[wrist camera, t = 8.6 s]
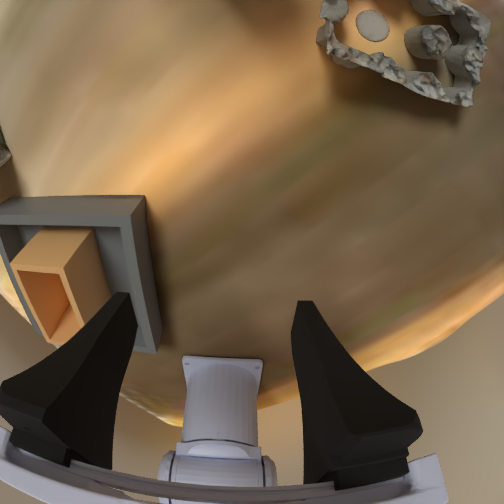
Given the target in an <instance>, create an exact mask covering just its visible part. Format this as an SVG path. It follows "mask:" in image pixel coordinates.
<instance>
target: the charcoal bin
mask: <svg viewBox="0 0 504 504" xmlns="http://www.w3.org/2000/svg"><path fill="white" fill-rule="evenodd" d="M43 227H94V231H95V235H96V240H97V244H98V248H99V252H100V256H101V260H102V264H103V268H104V272H105V275H106V279H107V283H108V286H109V290H110V293H111V296H113V295H114V294H115V293H116V292H128V293H130V296H131V300H132V304H133V308H134V312H135V316H136V319H137V323H138V328H137V334H136V339H135V343H134V347H133V350H132V351H135V352H143V353H152V354H157V351H158V347H159V343H160V339H161V335H162V331H163V326H162V320H161V315H160V309H159V304H158V298H157V292H156V285H155V279H154V272H153V265H152V258H151V251H150V243H149V234H148V226H147V216H146V206H145V195H86V196H48V197H24V198H8V199H7V200H6V201H5V202H3V203H2V204H1V205H0V254H1V256H2V259H3V262H4V264H5V267H6V269H7V272H8V274H9V277H10V279H11V282H12V284H13V286H14V288H15V291H16V293H17V295H18V297H19V300H20V302H21V304H22V306H23V308H24V310H25V312H26V314H27V316H28V318H29V320H30V322H31V324H32V326H33V328H34V329H35V331H36V333H37V334H39V335H43V334H42V332H41V330H40V328H39V326H38V324H37V322H36V320H35V319H34V317H33V315H32V313H31V311H30V309H29V307H28V304H27V302H26V300H25V298H24V296H23V294H22V292H21V289H20V287H19V285H18V283H17V280H16V278H15V276H14V273H13V271H12V268H11V266H10V263H11V261H12V260H13V259H14V258H15V257H16V256H17V255H18V253H19V252H20V251H21V250H22V249H23V248H24V247H25V246H26V244H27V243H28V242H29V241H30V240H31V239H32V238H33V237H34V236H35V235H36V234H37V233H38V232H39V231H40V230H41V229H42V228H43ZM43 336H44V335H43Z"/></svg>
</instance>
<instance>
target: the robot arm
mask: <svg viewBox="0 0 504 504" xmlns="http://www.w3.org/2000/svg"><path fill="white" fill-rule="evenodd" d="M137 328H138V323H137V319H136V316H135V312H134V308H133V304H132V300H131V296H130V293H128V292H116V293H115V294H114V295H113V296H112V297H111V298H110V299H109V300H108V301H107V302H106V303H105V305H104V306H103V307H102V308H101V309H100V310H99V311H98V312H97V313H96V314H95V315H94V316H93V317H92V318H91V319H90V320H89V321H88V322H87V323H86V324H85V325H84V326H83V327H82V328H81V329H80V330H79V331H78V332H77V333H76V334H75V335H74V336H73V337H72V338H71V339H69V340H68V341H67V342H66V343H65V344H63V345H62V346H61V347H60V348H59V349H57V350H56V351H55V352H53V353H52V354H50V355H49V356H48V357H46V358H45V359H44V360H42V361H41V362H39V363H37V364H36V365H34V366H32V367H31V368H29V369H27V370H25V371H23V372H22V373H20V374H17V375H16V376H13V377H11V378H9V379H7V380H4V381H3V382H2V384H1V386H0V415H1V416H2V417H3V418H4V419H5V420H6V421H7V422H8V423H9V424H10V425H12V426H13V430H12V432H10V431H9V430H7V429H6V428H4V427H2V426H0V480H2V481H4V482H5V483H7V484H9V485H11V486H13V487H15V488H17V489H18V490H20V491H22V492H24V493H26V494H28V495H30V496H32V497H35V498H37V499H39V500H41V501H43V502H46V503H48V504H445V503H447V502H448V501H449V498H448V494H447V490H446V486H445V482H444V478H443V474H442V470H441V467H440V463H439V460H438V456H437V454H436V453H434V454H431V455H428V456H424V457H421V458H418V459H415V460H412V461H410V462H408V463H407V459H406V457H407V456H408V455H409V452H408V448H407V447H408V446H410V445H411V444H412V443H413V442H415V441H416V440H417V439H418V438H419V437H420V436H421V434H422V432H423V429H422V426H421V422H420V419H419V417H418V415H417V413H416V410H414V409H412V408H411V407H409V406H408V405H406V404H405V403H403V402H401V401H400V400H398V399H397V398H395V397H394V396H393V395H391V394H390V393H389V392H387V391H386V390H385V389H384V388H383V387H381V386H380V385H379V384H378V383H377V382H376V381H374V380H373V379H372V378H371V377H370V376H369V375H368V374H367V373H366V372H365V371H364V370H363V369H362V368H361V367H360V366H359V365H358V364H357V363H356V362H355V361H354V359H353V358H352V357H351V356H350V355H349V354H348V352H347V351H346V350H345V348H344V347H343V346H342V345H341V343H340V342H339V341H338V339H337V338H336V336H335V335H334V334H333V332H332V331H331V329H330V328H329V326H328V325H327V323H326V322H325V320H324V319H323V317H322V316H321V314H320V312H319V311H318V309H317V307H316V306H315V304H314V303H313V301H298V302H297V307H296V312H295V317H294V321H293V326H292V330H291V343H292V355H293V361H294V366H295V371H296V376H297V382H298V387H299V392H300V398H301V406H302V421H303V443H304V481H303V482H304V483H303V485H293V486H292V485H291V486H277V474H276V467H275V463H274V462H273V461H272V460H271V459H270V458H269V457H268V456H261V447H258V431H257V396H258V390H259V385H260V379H261V373H262V367H263V361H262V360H260V359H235V358H215V357H200V356H183V359H182V362H183V368H184V374H185V379H186V385H187V396H186V404H185V412H184V420H183V429H182V438H181V442H177V445H176V451H173V450H170V451H169V452H168V453H167V454H166V455H164V456H163V458H162V460H161V463H160V467H159V472H158V480H157V479H151V478H145V477H140V476H135V475H130V474H125V473H121V472H116V471H112V450H113V449H112V448H113V433H114V424H115V415H116V409H117V403H118V397H119V392H120V388H121V385H122V381H123V378H124V375H125V372H126V369H127V366H128V363H129V360H130V357H131V353H132V350H133V347H134V343H135V339H136V334H137ZM104 485H105V486H104ZM107 486H108V487H107ZM110 487H112V488H110ZM113 488H116V489H120V490H125V491H129V492H134V493H139V494H144V495H149V496H155V497H158V498H159V502H160V503H155V502H149V501H142V500H137V499H133V498H131V497H129V496H127V495H125V494H124V492H122V491H119V490H116V489H113Z"/></svg>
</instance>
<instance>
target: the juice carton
mask: <svg viewBox="0 0 504 504" xmlns="http://www.w3.org/2000/svg"><path fill="white" fill-rule="evenodd" d="M10 157H11V152H10V150H9V149H8V147H7V145H6V142H5V139H4V137H3V134H2V133H1V132H0V167H1V166H2V165H3V164H5V163H6V162H7V161H8V160H9V159H10Z"/></svg>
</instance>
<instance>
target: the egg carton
mask: <svg viewBox="0 0 504 504" xmlns="http://www.w3.org/2000/svg"><path fill="white" fill-rule="evenodd" d="M409 1H410V3H411V5H412V7H413V8H414V9H415V10H416V11H417V12H418V13H420V14H422V15H424V16H428V17H430V16H437V15H443V14H445V15H449V19H450V22H451V25H452V27H453V28H454V29H455V31H456V32H457V33H458V34H459V36H460V38H459V43H458V44H456V45H454V46H452V42H451V40H450V37H449V34H448V32H447V31H446V30H445V29H444V27H443V26H441V25H421V26H415V27H412V28H410V29H408V30H407V31H406V32H405V35H404V42H405V46H406V48H407V50H408V51H409V52H410V53H411V54H412V55H413V56H415V57H417V58H421V59H435V60H441V59H443V58H445V63H446V65H447V67H448V69H449V70H450V71H451V72H452V73H453V74H454V75H455V78H454V84H453V87H445V88H443V89H442V84H441V83H440V82H439V81H438V79H437V78H436V77H435V75H434V73H431V72H419V71H406V72H405V71H404V69H403V67H399V66H397V65H396V63H395V62H394V60H393V59H392V58H391V57H386V56H384V54H383V53H380V52H379V53H373V54H371V55H368V54H366V53H364V52H361V51H359V50H356V49H353V48H351V47H348V46H346V45H345V44H343V43H341V42H340V41H338V40H337V39H336V37H335V34H334V26H333V25H334V24H336V23H338V22H340V21H342V20H343V19H344V18H345V16H346V15H347V14H348V4H347V1H346V0H323V3H322V8H321V12H320V19H321V18H325V19H326V24H325V25H324V26H322V27H320V28H318V31H317V37H316V42H317V43H319V44H321V45H322V46H324V47H325V48H326V49H327V54H328V55H330V54H331V56H332V61H333V62H334V63H336V64H338V65H340V66H344V67H347V68H350V69H353V68H354V67H355V68H357V67H359V66H360V65H362V66H364V67H368V68H370V69H372V70H374V71H376V72H379V73H381V75H380V76H382V77H384V78H387V79H390V80H392V81H395V82H398V83H400V84H402V85H404V86H405V87H407V88H409V89H411V90H413V91H414V92H416V93H419V94H421V95H424V96H426V97H430V98H434V99H437V100H441V101H445V102H449V103H452V104H455V105H462V106H466V107H471V106H472V105H473V103H474V100H473V99H472V93H473V90H474V88H475V86H476V85H478V84H479V83H480V81H481V80H480V76H479V74H480V70H481V68H482V66H483V65H484V63H483V61H484V56H485V54H486V51H487V48H486V45H485V40H486V38H487V36H488V33H489V30H490V25H491V21H490V20H489V19H488V18H487V17H485V16H483V15H482V14H480V13H479V12H477V11H476V10H474V9H472V8H471V7H469V6H468V5H466V4H463V3H461V2H459V1H458V0H409ZM356 26H357V29H358V31H359V33H360V34H361V35H362V36H363V37H364V38H366V39H367V40H369V41H374V42H379V41H382V40H384V39H386V37H387V36H388V34H389V24H388V22H387V20H386V19H385V17H384V16H383V15H381V14H380V13H378V12H377V11H375V10H365V11H362V12H361V13H359V14H358V15H357V18H356Z"/></svg>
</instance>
